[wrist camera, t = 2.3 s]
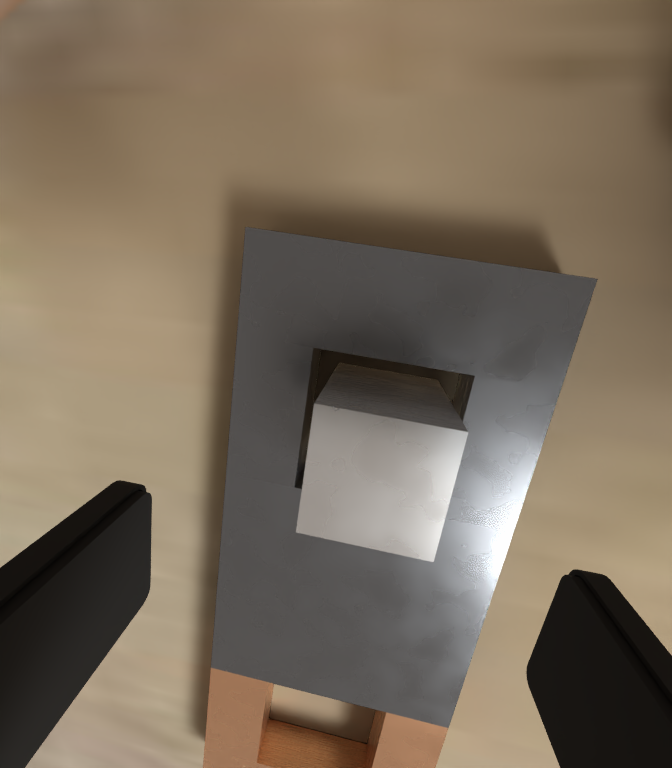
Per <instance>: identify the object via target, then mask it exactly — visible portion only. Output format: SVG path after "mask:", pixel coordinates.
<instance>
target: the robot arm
mask: <svg viewBox="0 0 672 768" xmlns="http://www.w3.org/2000/svg"><path fill="white" fill-rule="evenodd" d="M151 514H152V497H151V494H150V493H147V492H146V488H145V486H143V485H141V484H136V483H131V482H126V481H116V482H114V483H112V484H111V485H110V486H108V487H107V488H106V489H104V490H103V491H102V492H100V493H99V494H98V495H96V496H95V497H94V498H92V499H91V500H90V501H88V502H87V503H86V504H84V505H83V506H82V507H80V508H79V509H78V510H76V511H75V512H74V513H72V514H71V515H70V516H68V517H67V518H66V519H64V520H63V521H62V522H60V523H59V524H58V525H56V526H55V527H54V528H52V529H51V530H50V531H48V532H47V533H46V534H45V535H43V536H42V537H41V538H39V539H38V540H37V541H35V542H34V543H33V544H31V545H30V546H29V547H27V548H26V549H25V550H23V551H22V552H21V553H19V554H18V555H17V556H15V557H14V558H13V559H11V560H10V561H9V562H7V563H6V564H5V565H3V566H2V567H1V568H0V768H25V767H26V765H27V764H28V762H29V761H30V760H31V758H32V757H33V756H34V754H35V753H36V751H37V750H38V749H39V747H40V746H41V745H42V743H43V742H44V740H45V739H46V738H47V736H48V735H49V733H50V732H51V731H52V729H53V728H54V727H55V725H56V724H57V722H58V721H59V720H60V718H61V717H62V716H63V714H64V713H65V711H66V710H67V709H68V707H69V706H70V705H71V703H72V702H73V700H74V699H75V698H76V696H77V695H78V693H79V692H80V691H81V689H82V688H83V687H84V685H85V684H86V682H87V681H88V680H89V678H90V677H91V676H92V674H93V673H94V671H95V670H96V669H97V667H98V666H99V665H100V663H101V662H102V660H103V659H104V658H105V656H106V655H107V653H108V652H109V651H110V649H111V648H112V647H113V645H114V644H115V642H116V641H117V640H118V638H119V637H120V636H121V634H122V633H123V631H124V630H125V629H126V627H127V626H128V625H129V623H130V622H131V620H132V619H133V618H134V616H135V615H136V613H137V612H138V611H139V609H140V608H141V607H142V605H143V604H144V602H145V600H146V598H147V596H148V593H149V590H150V576H151ZM527 681H528V685H529V688H530V691H531V693H532V696H533V698H534V701H535V704H536V706H537V709H538V711H539V714H540V717H541V719H542V722H543V724H544V727H545V729H546V732H547V735H548V737H549V740H550V742H551V745H552V747H553V750H554V753H555V755H556V758H557V760H558V763H559V765H560V768H672V656H671V654H670V653H669V652H668V651H667V649H666V648H665V647H664V646H663V644H662V643H661V642H660V641H659V639H658V638H657V637H656V636H655V635H654V633H653V632H652V631H651V630H650V628H649V627H648V626H647V625H646V623H645V622H644V621H643V620H642V618H641V617H640V616H639V615H638V613H637V612H636V611H635V610H634V609H633V607H632V606H631V605H630V604H629V602H628V601H627V600H626V599H625V597H624V596H623V595H622V594H621V592H620V591H619V590H618V589H617V587H616V586H615V585H614V584H613V582H612V581H611V580H610V579H609V578H608V577H607V576H605V575H602V574H598V573H593V572H587V571H582V570H572V571H571V572H570V573H569V575H564V576H563V577H562V578H561V580H560V583H559V585H558V588H557V591H556V593H555V596H554V598H553V601H552V603H551V606H550V608H549V611H548V614H547V616H546V619H545V621H544V624H543V626H542V629H541V632H540V634H539V637H538V639H537V642H536V644H535V647H534V649H533V652H532V655H531V657H530V660H529V662H528V665H527Z"/></svg>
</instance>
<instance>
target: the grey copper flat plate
mask: <svg viewBox="0 0 672 768" xmlns="http://www.w3.org/2000/svg"><path fill="white" fill-rule="evenodd" d="M596 282H597V279H594V278H587V277H581V276H574V275H567V274H560V273H554V272H547V271H540V270H533V269H526V268H520V267H513V266H506V265H499V264H493V263H486V262H479V261H472V260H466V259H459V258H452V257H445V256H439V255H432V254H425V253H418V252H412V251H405V250H398V249H391V248H385V247H378V246H371V245H364V244H358V243H351V242H344V241H337V240H331V239H324V238H317V237H310V236H304V235H297V234H290V233H283V232H277V231H270V230H263V229H256V228H250V227H245V239H244V252H243V265H242V278H241V290H240V303H239V316H238V329H237V341H236V354H235V367H234V380H233V392H232V405H231V418H230V430H229V443H228V456H227V469H226V481H225V494H224V507H223V520H222V532H221V545H220V558H219V571H218V583H217V596H216V609H215V621H214V634H213V647H212V660H211V672H210V685H209V698H208V711H207V723H206V736H205V749H204V762H203V768H435V767H436V764H437V761H438V758H439V755H440V752H441V749H442V746H443V743H444V740H445V737H446V734H447V731H448V728H449V725H450V722H451V719H452V716H453V713H454V710H455V707H456V704H457V701H458V698H459V695H460V692H461V689H462V686H463V683H464V680H465V677H466V674H467V671H468V668H469V665H470V662H471V659H472V656H473V653H474V650H475V647H476V644H477V640H478V637H479V634H480V631H481V628H482V625H483V622H484V619H485V616H486V613H487V610H488V607H489V604H490V601H491V598H492V595H493V592H494V589H495V586H496V583H497V580H498V577H499V574H500V571H501V568H502V565H503V562H504V559H505V556H506V553H507V550H508V547H509V544H510V541H511V538H512V535H513V532H514V529H515V526H516V523H517V520H518V517H519V514H520V511H521V508H522V505H523V502H524V499H525V496H526V493H527V490H528V487H529V484H530V481H531V478H532V475H533V472H534V469H535V466H536V463H537V460H538V457H539V454H540V451H541V448H542V445H543V442H544V439H545V436H546V433H547V430H548V427H549V424H550V421H551V418H552V415H553V412H554V409H555V406H556V402H557V399H558V396H559V393H560V390H561V387H562V384H563V381H564V378H565V375H566V372H567V369H568V366H569V363H570V360H571V357H572V354H573V351H574V348H575V345H576V342H577V339H578V336H579V333H580V330H581V327H582V324H583V321H584V318H585V315H586V312H587V309H588V306H589V303H590V300H591V297H592V294H593V291H594V288H595V285H596ZM321 349H324V350H330V351H335V352H341V353H347V354H353V355H358V356H364V357H370V358H376V359H381V360H387V361H393V362H399V363H404V364H410V365H416V366H422V367H427V368H433V369H439V370H445V371H450V372H456V373H460V377H459V381H458V385H457V389H456V393H455V397H454V401H453V407H454V408H455V410H456V412H457V414H458V415H459V417H460V419H461V420H462V422H463V424H464V425H465V427H466V429H467V430H468V436H467V440H466V443H465V447H464V451H463V455H462V458H461V462H460V466H459V469H458V473H457V477H456V481H455V484H454V488H453V492H452V496H451V499H450V503H449V507H448V510H447V514H446V518H445V522H444V525H443V529H442V533H441V536H440V540H439V544H438V548H437V551H436V555H435V559H434V562H430V561H425V560H421V559H416V558H412V557H407V556H402V555H398V554H393V553H389V552H384V551H379V550H375V549H370V548H366V547H361V546H356V545H352V544H347V543H343V542H338V541H333V540H329V539H324V538H320V537H315V536H310V535H306V534H301V533H296V527H297V520H298V513H299V506H300V499H301V492H302V485H303V478H304V471H305V461H306V454H307V447H308V440H309V433H310V426H311V419H312V412H313V405H314V398H315V391H316V384H317V377H318V370H319V363H320V355H321ZM274 684H277V685H281V686H285V687H289V688H293V689H297V690H301V691H305V692H308V693H312V694H316V695H320V696H324V697H328V698H332V699H336V700H340V701H344V702H348V703H352V704H356V705H359V706H363V707H367V708H371V709H375V710H376V712H375V716H374V719H373V723H372V727H371V731H370V735H369V739H368V743H367V744H364V743H360V742H356V741H352V740H348V739H345V738H341V737H337V736H333V735H329V734H326V733H322V732H318V731H314V730H310V729H307V728H303V727H299V726H295V725H292V724H288V723H284V722H280V721H276V720H273V719H269V713H270V706H271V699H272V692H273V685H274Z"/></svg>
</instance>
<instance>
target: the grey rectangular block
mask: <svg viewBox="0 0 672 768" xmlns="http://www.w3.org/2000/svg"><path fill="white" fill-rule="evenodd" d="M467 436H468V430H467V429H466V427H465V425H464V424H463V422H462V420H461V419H460V417H459V415H458V414H457V412H456V410H455V408H454V407H453V405H452V403H451V402H450V400H449V398H448V397H447V395H446V393H445V392H444V390H443V388H442V387H441V385H440V383H439V381H438V380H436V379H430V378H425V377H419V376H413V375H408V374H402V373H396V372H391V371H385V370H379V369H374V368H368V367H362V366H356V365H351V364H345V363H339V364H338V365H337V367H336V369H335V370H334V372H333V373H332V375H331V377H330V378H329V380H328V382H327V383H326V385H325V387H324V388H323V390H322V391H321V393H320V395H319V396H318V398H317V400H316V401H315V403H314V408H313V415H312V422H311V429H310V436H309V443H308V450H307V457H306V464H305V471H304V478H303V485H302V492H301V499H300V506H299V513H298V520H297V527H296V533H301V534H306V535H310V536H315V537H320V538H324V539H329V540H333V541H338V542H343V543H347V544H352V545H356V546H361V547H366V548H370V549H375V550H379V551H384V552H389V553H393V554H398V555H402V556H407V557H412V558H416V559H421V560H425V561H430V562H434V559H435V555H436V551H437V548H438V544H439V540H440V536H441V533H442V529H443V525H444V522H445V518H446V514H447V510H448V507H449V503H450V499H451V496H452V492H453V488H454V484H455V481H456V477H457V473H458V469H459V466H460V462H461V458H462V455H463V451H464V447H465V443H466V440H467Z"/></svg>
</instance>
